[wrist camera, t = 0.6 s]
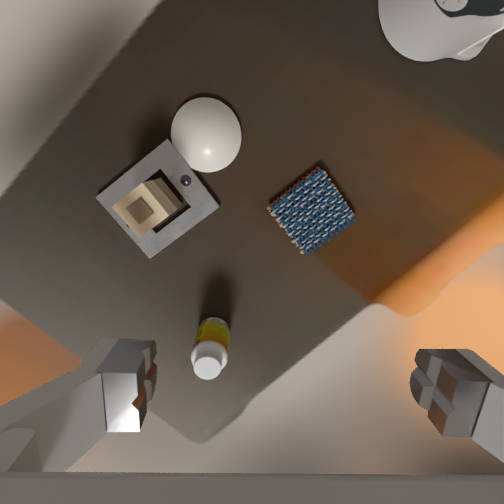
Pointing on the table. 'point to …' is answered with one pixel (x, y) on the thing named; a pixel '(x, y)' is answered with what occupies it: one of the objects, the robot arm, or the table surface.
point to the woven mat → (311, 210)
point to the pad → (206, 134)
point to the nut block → (147, 206)
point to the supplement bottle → (210, 348)
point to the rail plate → (184, 183)
